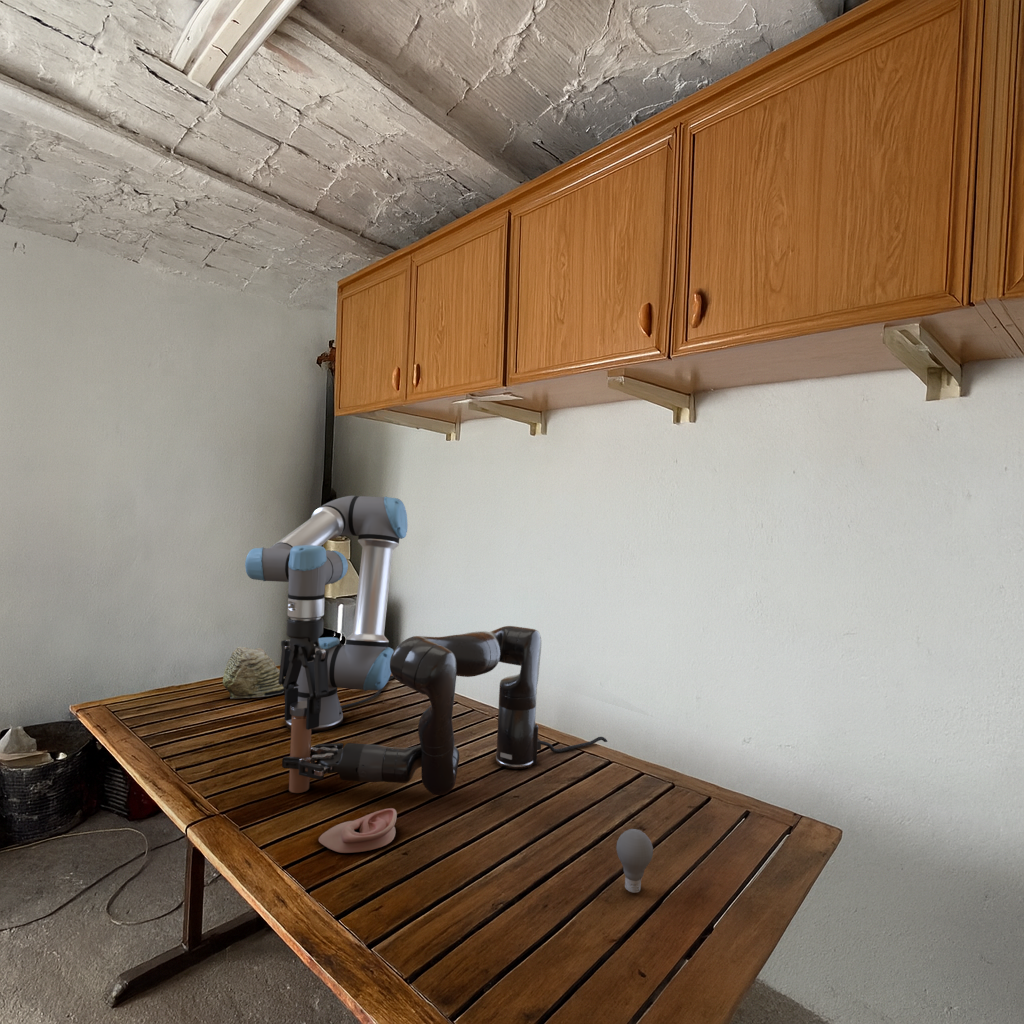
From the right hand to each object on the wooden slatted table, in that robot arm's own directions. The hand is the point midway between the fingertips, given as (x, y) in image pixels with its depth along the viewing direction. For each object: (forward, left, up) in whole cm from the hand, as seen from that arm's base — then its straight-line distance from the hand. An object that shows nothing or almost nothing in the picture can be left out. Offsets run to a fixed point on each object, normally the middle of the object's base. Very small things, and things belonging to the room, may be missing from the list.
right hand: (287, 757), depth 137 cm
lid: (-2, +1, +11) cm, 12 cm away
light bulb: (-52, +55, -7) cm, 76 cm away
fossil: (+7, -68, -7) cm, 69 cm away
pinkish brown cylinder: (-2, +1, -7) cm, 7 cm away
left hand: (-2, +1, +8) cm, 8 cm away
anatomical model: (-12, +25, -7) cm, 28 cm away
